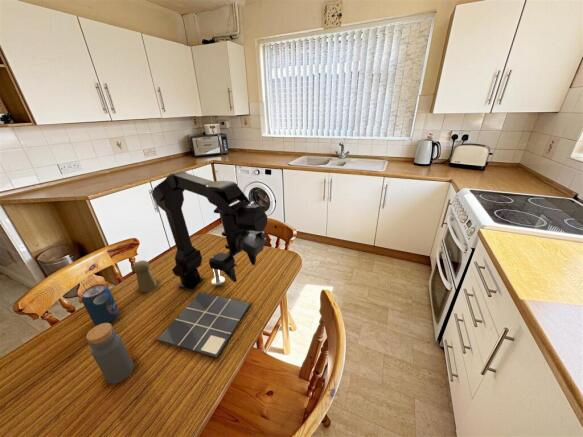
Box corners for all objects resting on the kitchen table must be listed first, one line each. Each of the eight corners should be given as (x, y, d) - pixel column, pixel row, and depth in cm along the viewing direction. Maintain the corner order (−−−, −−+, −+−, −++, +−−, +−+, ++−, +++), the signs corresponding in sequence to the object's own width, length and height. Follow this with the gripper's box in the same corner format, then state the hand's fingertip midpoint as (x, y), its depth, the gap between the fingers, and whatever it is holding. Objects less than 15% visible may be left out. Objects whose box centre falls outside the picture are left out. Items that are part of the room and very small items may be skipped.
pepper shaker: (135, 289, 89) (125, 265, 85) (149, 280, 94) (141, 256, 90) (146, 293, 87) (137, 269, 82) (160, 283, 92) (152, 259, 88)
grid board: (157, 340, 69) (156, 339, 69) (200, 293, 86) (199, 292, 86) (217, 358, 63) (216, 356, 63) (250, 304, 81) (249, 302, 80)
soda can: (121, 320, 76) (108, 291, 71) (94, 332, 72) (78, 302, 67) (119, 307, 81) (107, 279, 76) (94, 317, 78) (79, 289, 72)
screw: (212, 282, 92) (225, 279, 93) (212, 290, 88) (226, 287, 89) (206, 254, 86) (219, 251, 88) (206, 261, 82) (220, 258, 83)
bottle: (113, 388, 57) (89, 346, 51) (102, 376, 60) (78, 334, 54) (138, 368, 62) (119, 327, 55) (127, 357, 65) (107, 317, 58)
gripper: (233, 246, 56) (246, 298, 62) (274, 216, 71) (282, 261, 77) (201, 240, 62) (215, 289, 67) (245, 214, 76) (254, 255, 82)
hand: (244, 272), depth 73 cm, fingers open, 9 cm apart
